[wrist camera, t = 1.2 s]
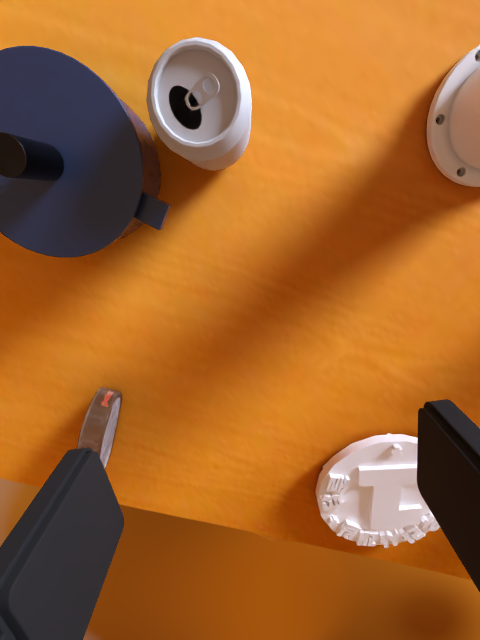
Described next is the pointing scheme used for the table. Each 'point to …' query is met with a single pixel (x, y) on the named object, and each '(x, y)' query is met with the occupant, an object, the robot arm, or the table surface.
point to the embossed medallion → (375, 492)
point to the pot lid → (64, 155)
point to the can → (201, 103)
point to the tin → (101, 423)
